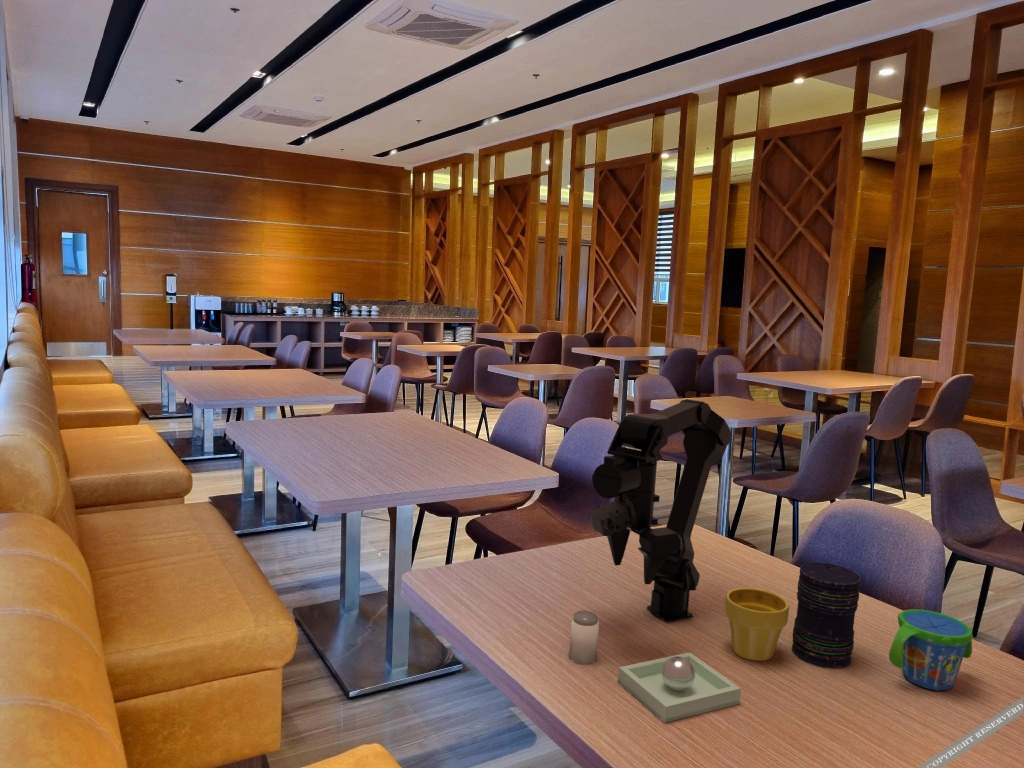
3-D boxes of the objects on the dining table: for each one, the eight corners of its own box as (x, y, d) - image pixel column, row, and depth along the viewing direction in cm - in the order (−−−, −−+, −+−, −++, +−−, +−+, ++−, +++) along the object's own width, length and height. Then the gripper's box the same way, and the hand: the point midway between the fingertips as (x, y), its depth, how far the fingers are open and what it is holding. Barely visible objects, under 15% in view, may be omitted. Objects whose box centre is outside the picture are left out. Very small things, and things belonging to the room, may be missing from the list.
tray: (688, 666, 125) (689, 652, 125) (739, 703, 114) (740, 688, 114) (617, 682, 119) (619, 667, 119) (664, 723, 108) (666, 706, 108)
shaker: (587, 648, 130) (590, 608, 129) (601, 661, 125) (604, 619, 125) (564, 653, 128) (566, 612, 127) (578, 666, 123) (580, 623, 123)
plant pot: (752, 672, 124) (757, 615, 123) (709, 644, 133) (713, 591, 132) (797, 660, 129) (802, 605, 128) (752, 634, 138) (757, 583, 137)
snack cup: (942, 661, 131) (949, 606, 130) (993, 694, 121) (1001, 634, 120) (864, 667, 128) (871, 610, 126) (910, 701, 118) (918, 639, 116)
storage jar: (854, 674, 125) (864, 588, 123) (791, 662, 128) (800, 578, 126) (848, 648, 135) (857, 567, 133) (790, 637, 138) (798, 559, 136)
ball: (680, 678, 120) (681, 648, 119) (700, 693, 115) (702, 662, 115) (654, 684, 118) (656, 654, 117) (674, 700, 113) (676, 668, 113)
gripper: (570, 477, 135) (565, 561, 137) (630, 507, 119) (623, 601, 121) (622, 473, 140) (616, 554, 142) (687, 501, 123) (679, 592, 125)
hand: (631, 574), depth 132 cm, fingers open, 9 cm apart
